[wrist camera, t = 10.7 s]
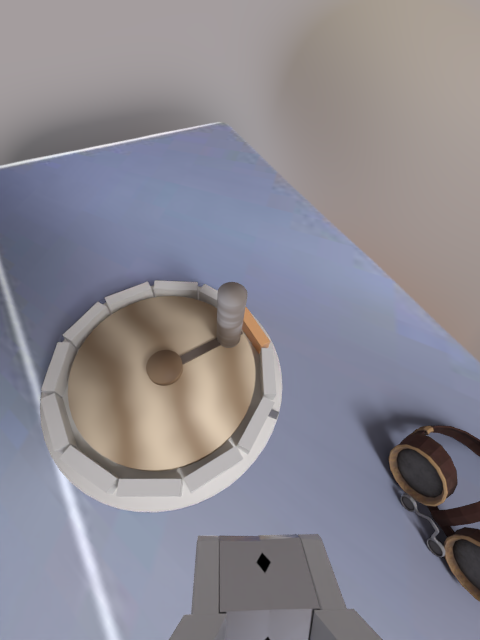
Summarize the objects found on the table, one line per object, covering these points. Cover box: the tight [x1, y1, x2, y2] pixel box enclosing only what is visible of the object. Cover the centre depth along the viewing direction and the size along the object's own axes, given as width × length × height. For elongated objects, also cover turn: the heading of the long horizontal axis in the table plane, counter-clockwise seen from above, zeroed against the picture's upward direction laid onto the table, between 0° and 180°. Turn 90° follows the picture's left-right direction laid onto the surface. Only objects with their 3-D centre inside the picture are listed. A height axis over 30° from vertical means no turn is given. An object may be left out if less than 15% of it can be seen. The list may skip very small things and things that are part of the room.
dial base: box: [40, 281, 282, 512], centre depth 36 cm, size 28×28×4 cm
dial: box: [68, 282, 255, 471], centre depth 32 cm, size 21×21×10 cm
